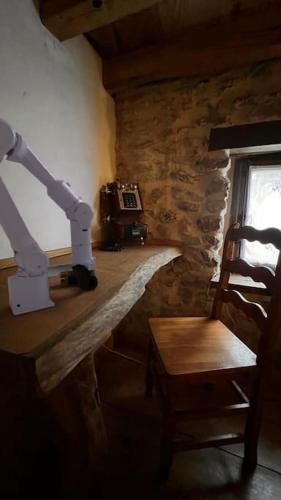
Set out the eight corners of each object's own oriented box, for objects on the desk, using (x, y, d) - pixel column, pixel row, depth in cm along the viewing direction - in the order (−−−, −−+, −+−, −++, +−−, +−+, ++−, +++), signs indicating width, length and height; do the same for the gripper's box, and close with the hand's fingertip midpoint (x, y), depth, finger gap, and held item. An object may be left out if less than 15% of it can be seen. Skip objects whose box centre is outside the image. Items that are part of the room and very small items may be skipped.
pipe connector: (59, 277, 69) (60, 266, 83) (60, 293, 70) (61, 280, 84) (97, 274, 72) (92, 264, 87) (98, 290, 73) (93, 277, 87)
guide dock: (43, 280, 84) (42, 269, 83) (40, 277, 87) (39, 267, 86) (94, 271, 95) (94, 261, 95) (90, 269, 99) (90, 260, 98)
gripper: (104, 245, 64) (106, 292, 66) (84, 240, 75) (86, 280, 78) (80, 248, 60) (83, 297, 62) (63, 242, 71) (66, 284, 74)
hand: (83, 288), depth 70 cm, fingers closed
